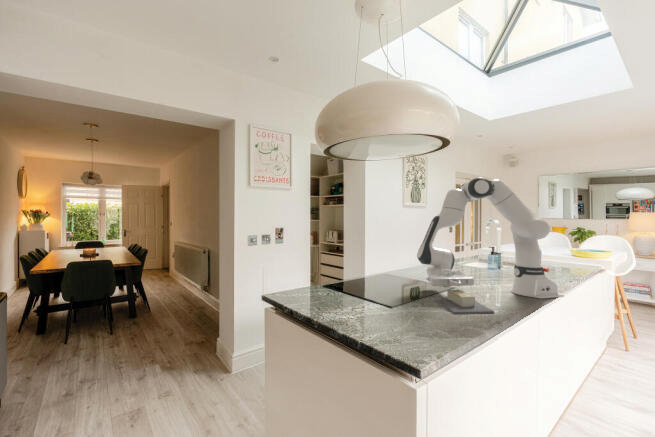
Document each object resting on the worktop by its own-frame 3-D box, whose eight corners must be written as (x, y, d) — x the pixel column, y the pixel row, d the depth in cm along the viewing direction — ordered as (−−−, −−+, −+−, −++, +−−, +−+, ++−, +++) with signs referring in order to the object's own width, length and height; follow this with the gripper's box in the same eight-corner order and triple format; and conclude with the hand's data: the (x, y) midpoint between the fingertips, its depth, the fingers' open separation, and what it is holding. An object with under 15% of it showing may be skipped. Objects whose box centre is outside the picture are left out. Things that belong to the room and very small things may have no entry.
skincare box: (459, 289, 142) (475, 296, 130) (459, 298, 142) (475, 306, 130) (446, 290, 141) (462, 296, 129) (446, 299, 141) (462, 307, 129)
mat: (473, 301, 140) (473, 299, 140) (493, 313, 124) (494, 311, 124) (437, 302, 139) (437, 300, 139) (453, 313, 123) (453, 312, 123)
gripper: (424, 271, 149) (436, 277, 135) (465, 271, 150) (480, 277, 136) (424, 284, 149) (436, 291, 135) (464, 283, 150) (480, 291, 136)
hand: (458, 284), depth 136 cm, fingers closed
